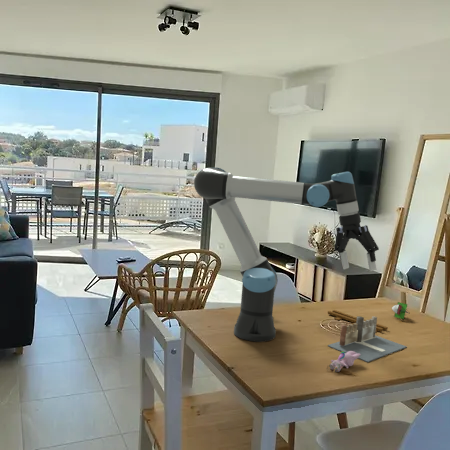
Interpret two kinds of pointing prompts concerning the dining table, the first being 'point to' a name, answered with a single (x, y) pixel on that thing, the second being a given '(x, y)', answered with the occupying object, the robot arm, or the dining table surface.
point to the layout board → (370, 348)
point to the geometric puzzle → (400, 310)
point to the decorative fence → (353, 319)
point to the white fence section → (366, 328)
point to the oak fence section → (348, 334)
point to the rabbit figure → (343, 361)
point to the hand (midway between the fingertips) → (359, 269)
